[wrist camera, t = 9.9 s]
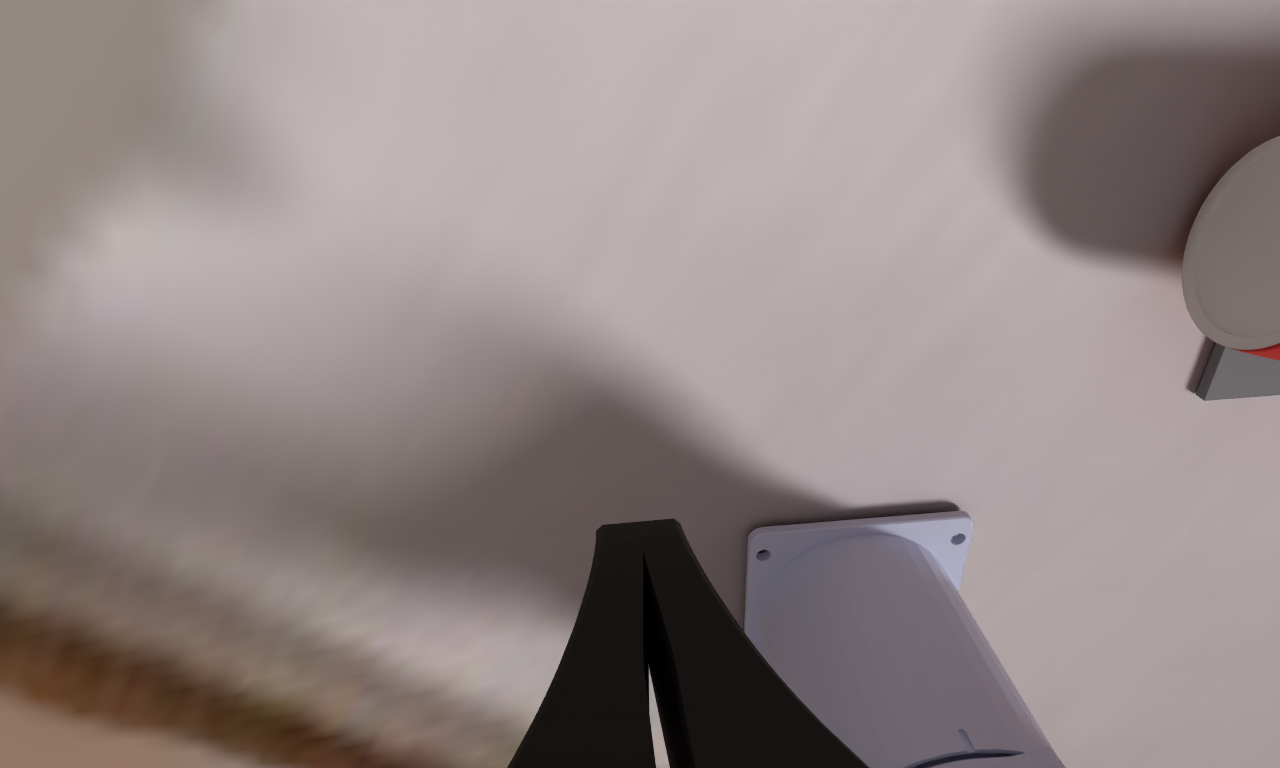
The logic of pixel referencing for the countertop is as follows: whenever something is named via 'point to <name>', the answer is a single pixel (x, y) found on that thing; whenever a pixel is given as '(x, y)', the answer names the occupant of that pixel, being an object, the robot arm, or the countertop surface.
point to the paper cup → (1238, 257)
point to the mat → (1238, 375)
